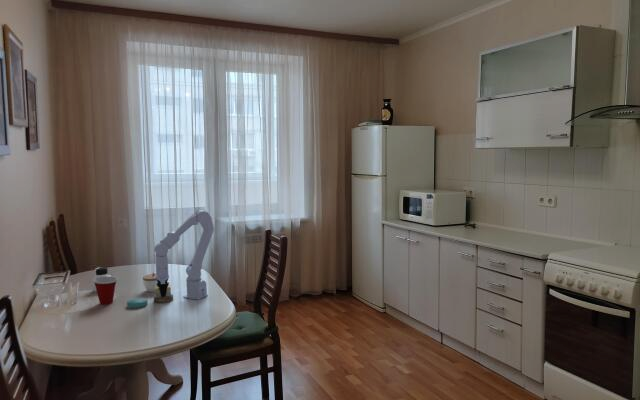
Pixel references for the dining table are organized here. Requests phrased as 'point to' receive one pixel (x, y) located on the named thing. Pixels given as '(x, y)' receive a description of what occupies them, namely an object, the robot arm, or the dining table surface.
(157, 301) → the stand
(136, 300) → the stand
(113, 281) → the plastic cup
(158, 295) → the block
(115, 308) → the dining table surface
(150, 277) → the lidded jar
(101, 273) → the medicine bottle
